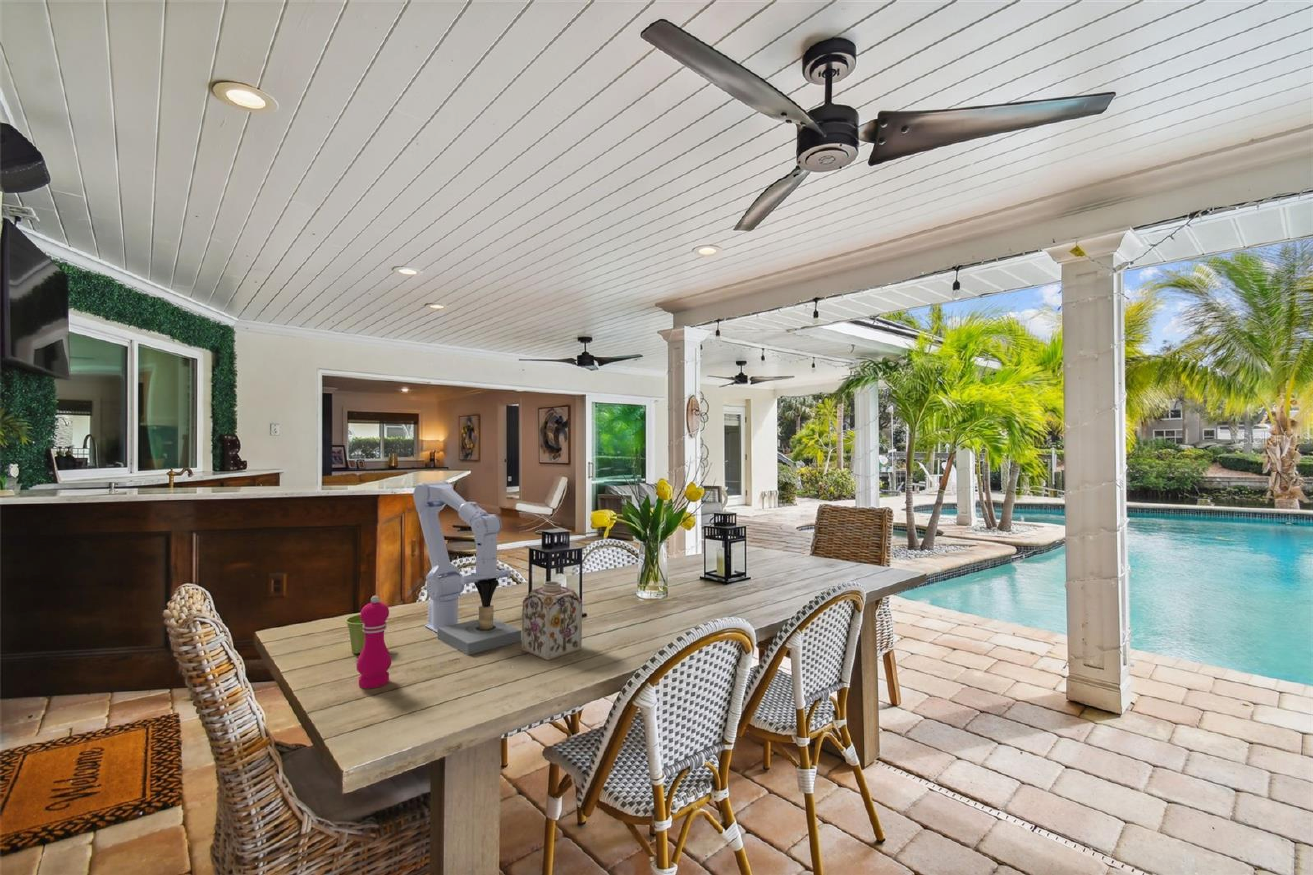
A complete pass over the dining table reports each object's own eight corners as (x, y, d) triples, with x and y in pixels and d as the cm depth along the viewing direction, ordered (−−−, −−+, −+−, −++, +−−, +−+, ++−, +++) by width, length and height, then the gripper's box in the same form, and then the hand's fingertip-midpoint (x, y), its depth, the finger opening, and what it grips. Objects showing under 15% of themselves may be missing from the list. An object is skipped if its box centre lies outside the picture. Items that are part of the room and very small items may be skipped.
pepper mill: (356, 692, 130) (357, 601, 131) (356, 680, 137) (357, 594, 137) (392, 686, 134) (393, 597, 134) (390, 674, 140) (391, 590, 140)
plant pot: (390, 650, 157) (390, 617, 157) (353, 659, 150) (353, 625, 150) (376, 642, 163) (376, 610, 163) (339, 650, 156) (340, 618, 156)
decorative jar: (520, 650, 157) (521, 582, 158) (555, 640, 166) (556, 576, 166) (547, 661, 149) (548, 590, 150) (583, 650, 158) (583, 582, 158)
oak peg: (475, 638, 167) (476, 606, 167) (489, 635, 170) (489, 603, 170) (482, 641, 164) (482, 609, 164) (496, 638, 167) (496, 606, 167)
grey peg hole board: (437, 638, 166) (437, 628, 166) (489, 626, 178) (489, 616, 178) (467, 655, 154) (467, 643, 154) (521, 641, 165) (521, 630, 165)
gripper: (469, 563, 159) (468, 613, 159) (516, 556, 170) (516, 604, 169) (457, 559, 164) (456, 608, 164) (503, 553, 175) (503, 599, 174)
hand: (486, 606), depth 167 cm, fingers closed
